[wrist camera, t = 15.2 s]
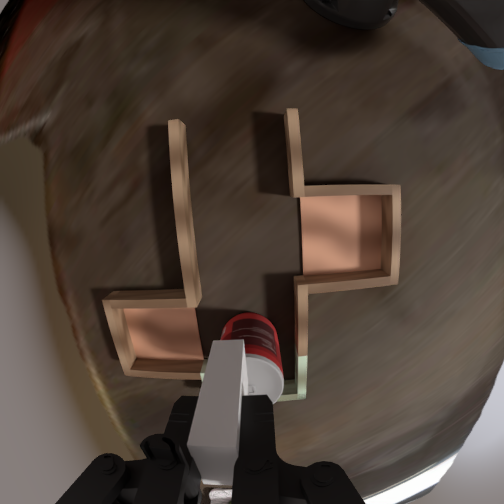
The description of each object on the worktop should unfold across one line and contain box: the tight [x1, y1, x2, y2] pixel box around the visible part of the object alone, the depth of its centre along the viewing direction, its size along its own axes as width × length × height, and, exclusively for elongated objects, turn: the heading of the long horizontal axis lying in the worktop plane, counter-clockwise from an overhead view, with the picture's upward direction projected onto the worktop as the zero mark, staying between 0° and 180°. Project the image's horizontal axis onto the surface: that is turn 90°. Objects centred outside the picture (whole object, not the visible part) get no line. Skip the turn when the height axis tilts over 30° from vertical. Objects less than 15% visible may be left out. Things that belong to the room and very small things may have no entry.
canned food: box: [220, 312, 284, 404], centre depth 32 cm, size 8×8×11 cm
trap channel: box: [102, 109, 401, 401], centre depth 34 cm, size 38×38×4 cm
